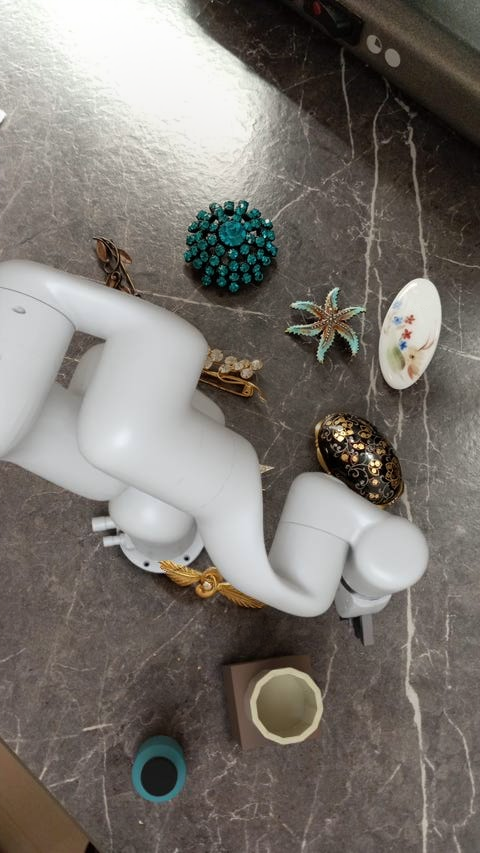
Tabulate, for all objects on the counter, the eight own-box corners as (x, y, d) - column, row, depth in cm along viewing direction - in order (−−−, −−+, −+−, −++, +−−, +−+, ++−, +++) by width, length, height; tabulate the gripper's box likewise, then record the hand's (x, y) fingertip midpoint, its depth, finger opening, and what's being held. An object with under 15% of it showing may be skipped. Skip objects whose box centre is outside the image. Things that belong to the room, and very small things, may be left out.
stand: (231, 735, 119) (242, 750, 98) (221, 665, 121) (230, 666, 100) (298, 724, 119) (323, 737, 99) (287, 655, 122) (309, 653, 101)
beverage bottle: (134, 735, 118) (125, 749, 98) (185, 730, 118) (186, 743, 99) (136, 788, 116) (128, 813, 97) (188, 783, 117) (190, 807, 97)
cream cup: (249, 740, 99) (256, 749, 89) (239, 673, 100) (245, 674, 91) (313, 730, 99) (328, 737, 90) (302, 663, 101) (315, 663, 91)
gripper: (323, 492, 101) (304, 516, 117) (351, 649, 97) (327, 652, 113) (388, 483, 102) (360, 508, 118) (418, 639, 97) (385, 642, 114)
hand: (344, 578), depth 116 cm, fingers open, 9 cm apart
